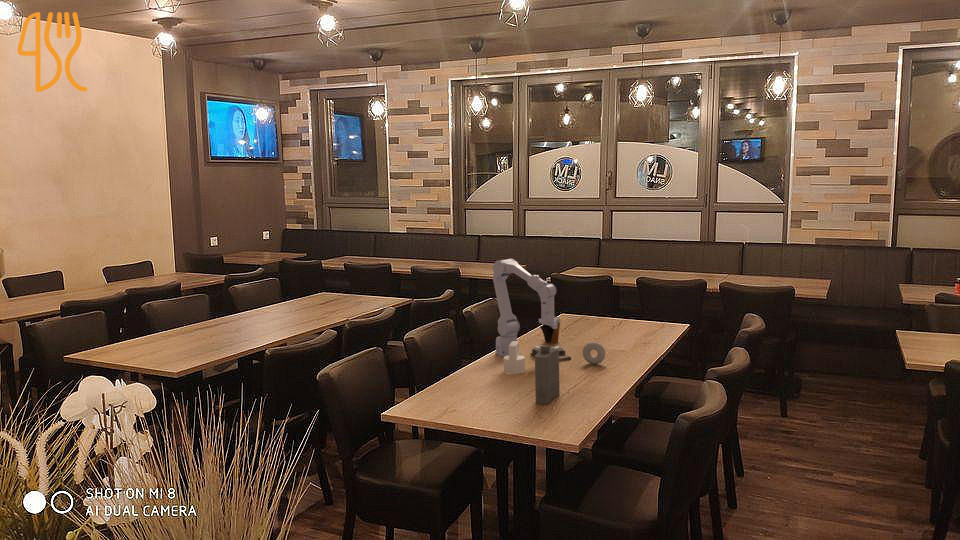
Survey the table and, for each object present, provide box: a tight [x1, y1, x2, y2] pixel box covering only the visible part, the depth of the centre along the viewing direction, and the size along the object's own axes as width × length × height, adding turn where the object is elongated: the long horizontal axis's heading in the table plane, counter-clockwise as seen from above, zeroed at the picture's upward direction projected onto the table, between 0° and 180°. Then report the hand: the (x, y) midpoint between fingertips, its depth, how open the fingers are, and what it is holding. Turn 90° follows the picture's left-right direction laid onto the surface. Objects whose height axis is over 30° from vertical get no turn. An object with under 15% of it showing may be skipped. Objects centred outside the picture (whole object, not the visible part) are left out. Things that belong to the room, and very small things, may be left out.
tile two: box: [550, 345, 564, 351], centre depth 330 cm, size 4×4×2 cm
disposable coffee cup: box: [542, 316, 562, 344], centre depth 358 cm, size 10×10×12 cm
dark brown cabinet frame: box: [529, 348, 572, 362], centre depth 328 cm, size 13×15×3 cm
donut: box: [582, 341, 606, 365], centre depth 314 cm, size 10×4×10 cm, turn 67°
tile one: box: [533, 344, 543, 351], centre depth 332 cm, size 4×4×2 cm
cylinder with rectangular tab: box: [503, 340, 526, 375], centre depth 307 cm, size 9×9×12 cm
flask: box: [534, 344, 561, 406], centre depth 268 cm, size 15×6×20 cm, turn 153°
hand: (548, 341), depth 322 cm, fingers closed
